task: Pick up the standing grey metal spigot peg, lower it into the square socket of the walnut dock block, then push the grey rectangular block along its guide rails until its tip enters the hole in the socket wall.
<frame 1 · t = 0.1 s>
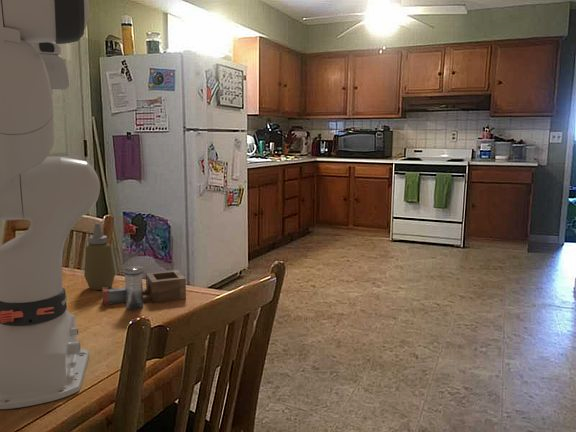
hand: (21, 108, 115), 48 cm above the table, tool pointing down, fingers open, 8 cm apart
grey rectangular block: (118, 294, 130), point 2 cm above the table, slide at 0.0 cm
dock: (165, 295, 136), on the table
spigot: (134, 307, 127), on the table
squeeze bottle: (100, 288, 142), on the table
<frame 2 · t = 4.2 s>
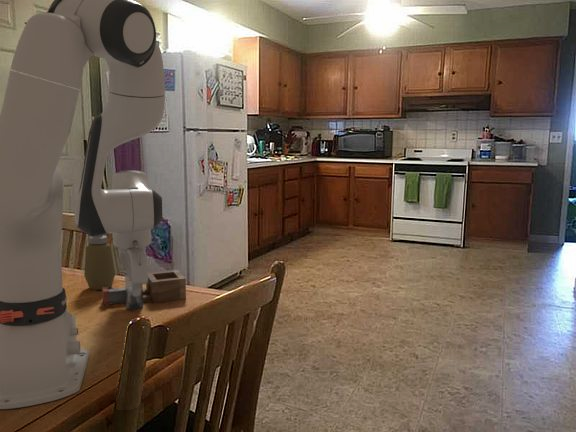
hand: (134, 291, 126), 4 cm above the table, tool pointing down, fingers closed on spigot, 4 cm apart
spigot: (134, 307, 127), on the table, touching gripper
everything else where it was.
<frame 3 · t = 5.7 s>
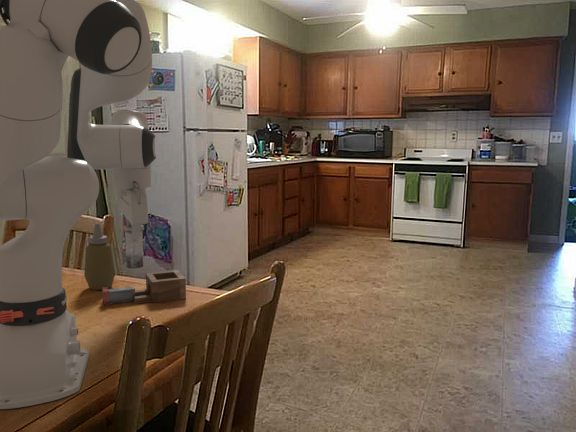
hand: (134, 236, 124), 18 cm above the table, tool pointing down, fingers closed on spigot, 4 cm apart
spigot: (135, 266, 125), point 11 cm above the table, touching gripper
everything else where it was.
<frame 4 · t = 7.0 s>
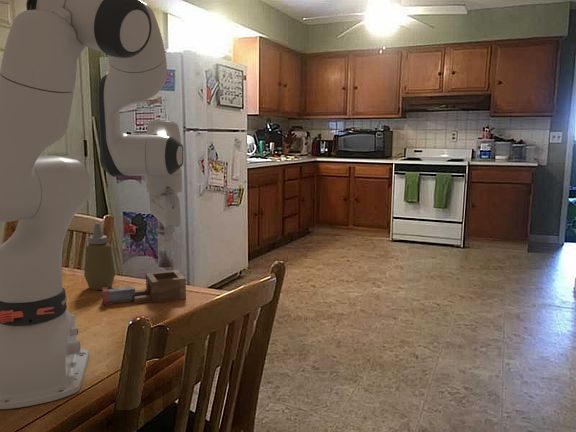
hand: (165, 237, 133), 16 cm above the table, tool pointing down, fingers closed on spigot, 4 cm apart
spigot: (166, 265, 134), point 8 cm above the table, touching gripper
everything else where it was.
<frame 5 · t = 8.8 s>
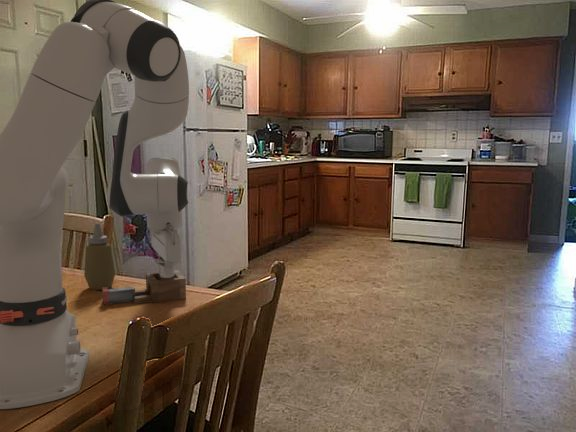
hand: (166, 271, 135), 7 cm above the table, tool pointing down, fingers closed on spigot, 4 cm apart
spigot: (167, 295, 136), resting in dock, touching gripper
everything else where it was.
when the fingers open (7 cm above the table, at t = 8.9 s): spigot stays where it is, resting in dock.
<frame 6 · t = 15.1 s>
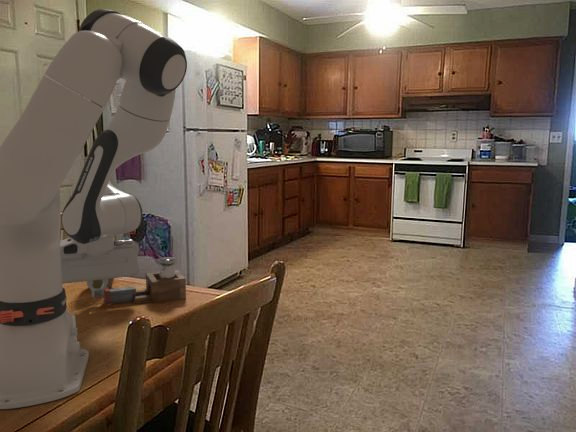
hand: (98, 296, 128), 2 cm above the table, tool pointing down, fingers closed
grey rectangular block: (120, 294, 131), point 2 cm above the table, slide at 0.3 cm, touching gripper
spigot: (167, 296, 136), resting in dock
everything else where it was.
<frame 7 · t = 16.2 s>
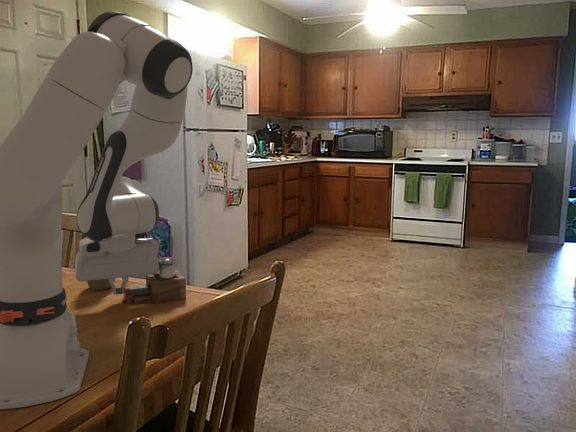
hand: (118, 293, 131), 2 cm above the table, tool pointing down, fingers closed
grey rectangular block: (139, 292, 133), point 2 cm above the table, slide at 5.1 cm, touching gripper
everything else where it was.
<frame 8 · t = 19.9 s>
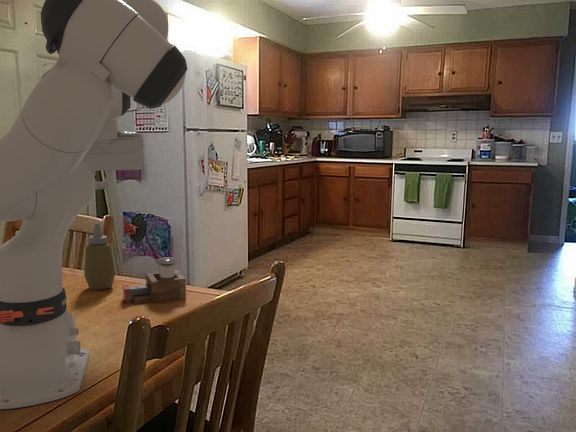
hand: (101, 189, 124), 29 cm above the table, tool pointing down, fingers closed
grey rectangular block: (139, 292, 133), point 2 cm above the table, slide at 5.0 cm
everything else where it was.
at the end: spigot 0.6 cm off-centre on the dock, point 0.0 cm above the dock's base; spigot tilted 0°; grey rectangular block slide at 5.0 cm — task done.
